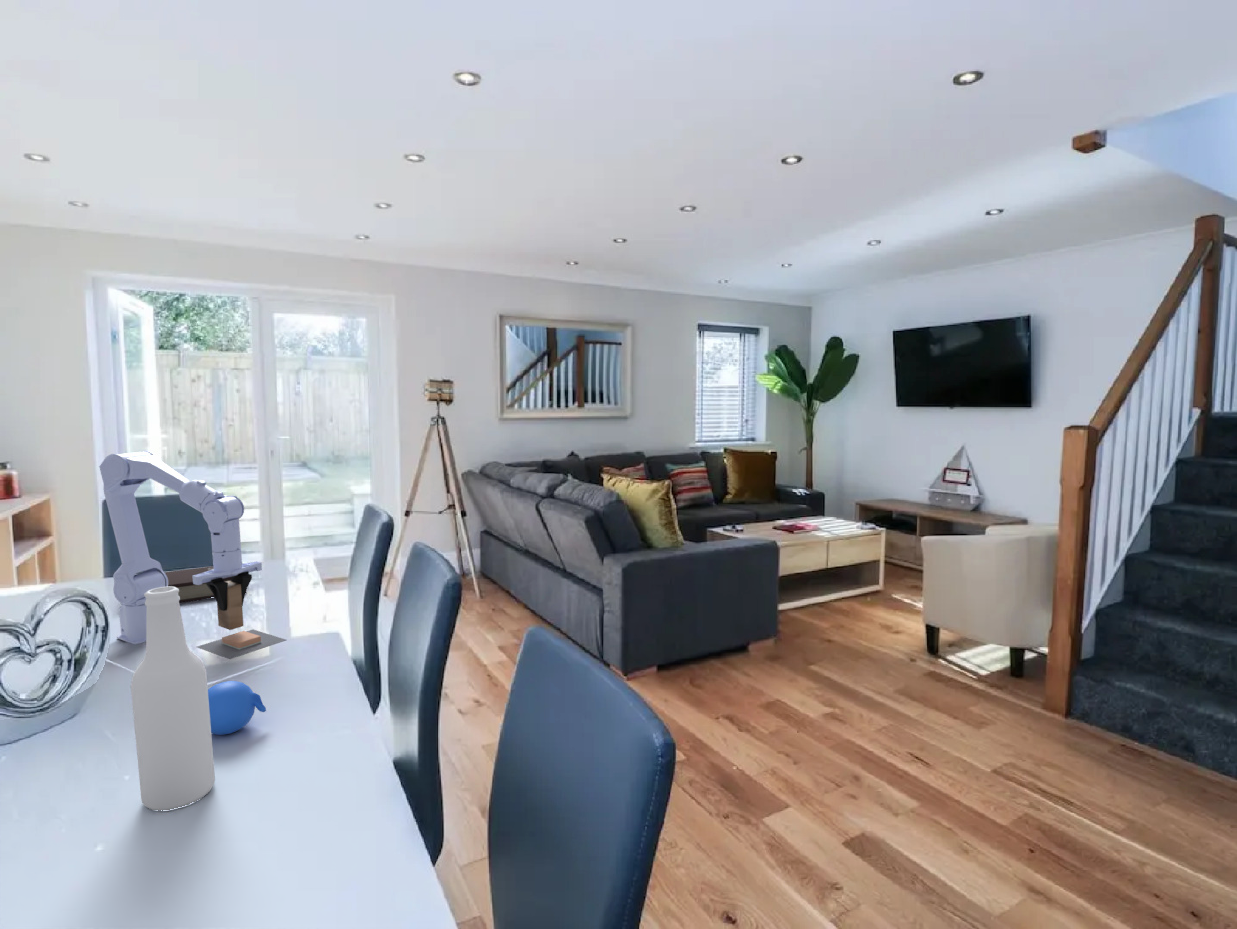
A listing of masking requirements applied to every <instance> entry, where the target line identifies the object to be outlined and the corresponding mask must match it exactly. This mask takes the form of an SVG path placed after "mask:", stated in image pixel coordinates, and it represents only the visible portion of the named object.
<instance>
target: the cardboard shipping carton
mask: <svg viewBox="0 0 1237 929" xmlns="http://www.w3.org/2000/svg"><path fill="white" fill-rule="evenodd" d="M226 582H227V583H228V586H227V610H226V611H222V610H219V606H218V604H217V603H216V607H217V622H218V627H220V628H224V629H226V630H229V631H232V630H236V629H239V628H241V627H242V628H243V627H244V615H243V614H244V613H243V606H242V594H241V584H238V583H235V582H232V581H226Z"/></svg>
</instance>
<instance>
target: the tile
mask: <svg viewBox="0 0 1237 929" xmlns="http://www.w3.org/2000/svg"><path fill="white" fill-rule="evenodd" d="M246 631H247V630H246ZM246 631H245V630H242V631H238V632H235V633H232V634H229V635H226V636H225V635H224V636H222V637H221V639H222V644H224V645H227V646H230V647H233V648H236V649H239V650H240V649H243V648H246V647H249V646H252V645H255V644H258V643H261V636H259V635H255V634H252V633H249V632H246Z"/></svg>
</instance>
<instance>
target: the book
mask: <svg viewBox="0 0 1237 929" xmlns="http://www.w3.org/2000/svg"><path fill="white" fill-rule="evenodd" d="M213 569H214V567H213V565H212V566H204V567H197V568H196V567H195V568H188V569H179V570H172V571H163V572H164V573H165V574H166V576H167V578H168V587H169V586H171V587H176V588H178V589H179V592H178V596H180V600H179V604H183V603H192V602H198V601H197V600H199V601H203V600H202V599H205V600H207V599H206V598H211V597H214V595H213V593H212V591H211V590H210V589H209V587H208V586H207V585H206V583H202V584H201V585H195V584H193V575H197V574H201V573H204V572H207V571H210V570H213ZM222 580H224V582H226V581H231V578H230V577H227V578H223V579H222ZM191 601H192V602H191Z"/></svg>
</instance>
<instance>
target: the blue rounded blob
mask: <svg viewBox="0 0 1237 929" xmlns="http://www.w3.org/2000/svg"><path fill="white" fill-rule="evenodd" d="M208 699H209V711H210V724H211V735H212V734H213V735H219V736H224V735H229V734H232V733H235V732H237V731H240V730H241V729H243V728H244V727H245V726H246V725H248V723H249V722H250V721H251V719H252V718H253V715H254V714H255V709H256V710H258V711H259V712H260V713H266V711H267V709H266V708H267V707H266V706H265V705H264V704H263V701H262V698H261V696H260V695H259V694H258V693H256V692H254V691H253V690H252V688H251V687H250V686H249V685H247V684H246V683H244V682H241V681H237V680H227V681H222V682H219V683H216V684H215V685H212V686H211V687H209V688H208Z"/></svg>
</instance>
